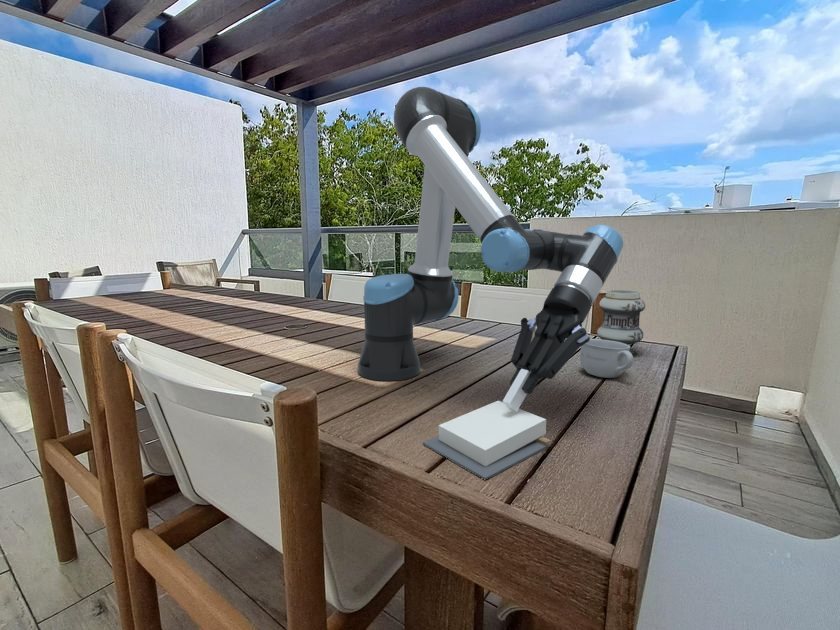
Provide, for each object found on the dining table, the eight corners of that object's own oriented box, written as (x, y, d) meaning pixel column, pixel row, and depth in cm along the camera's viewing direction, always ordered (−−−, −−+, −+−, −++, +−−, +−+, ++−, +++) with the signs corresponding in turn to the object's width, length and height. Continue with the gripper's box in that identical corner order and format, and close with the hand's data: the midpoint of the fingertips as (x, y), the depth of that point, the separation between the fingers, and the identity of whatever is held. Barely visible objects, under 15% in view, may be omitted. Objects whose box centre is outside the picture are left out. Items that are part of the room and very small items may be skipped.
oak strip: (487, 419, 75) (487, 413, 75) (550, 446, 65) (550, 440, 65) (482, 420, 74) (482, 415, 74) (545, 448, 65) (546, 442, 64)
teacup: (571, 368, 106) (573, 337, 105) (612, 367, 107) (614, 336, 105) (599, 387, 92) (601, 351, 91) (645, 385, 93) (649, 351, 92)
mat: (486, 419, 75) (486, 417, 75) (549, 446, 65) (549, 444, 65) (422, 444, 66) (422, 442, 66) (485, 480, 56) (485, 478, 56)
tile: (498, 400, 74) (438, 425, 66) (546, 419, 66) (485, 450, 58) (498, 414, 75) (438, 440, 66) (545, 434, 67) (485, 467, 58)
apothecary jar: (601, 345, 129) (605, 287, 126) (644, 351, 123) (650, 290, 119) (591, 353, 120) (595, 291, 117) (637, 360, 113) (644, 294, 110)
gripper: (613, 314, 73) (553, 431, 65) (548, 305, 83) (489, 405, 75) (600, 286, 69) (534, 407, 61) (533, 280, 78) (469, 383, 71)
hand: (509, 406), depth 68 cm, fingers closed
